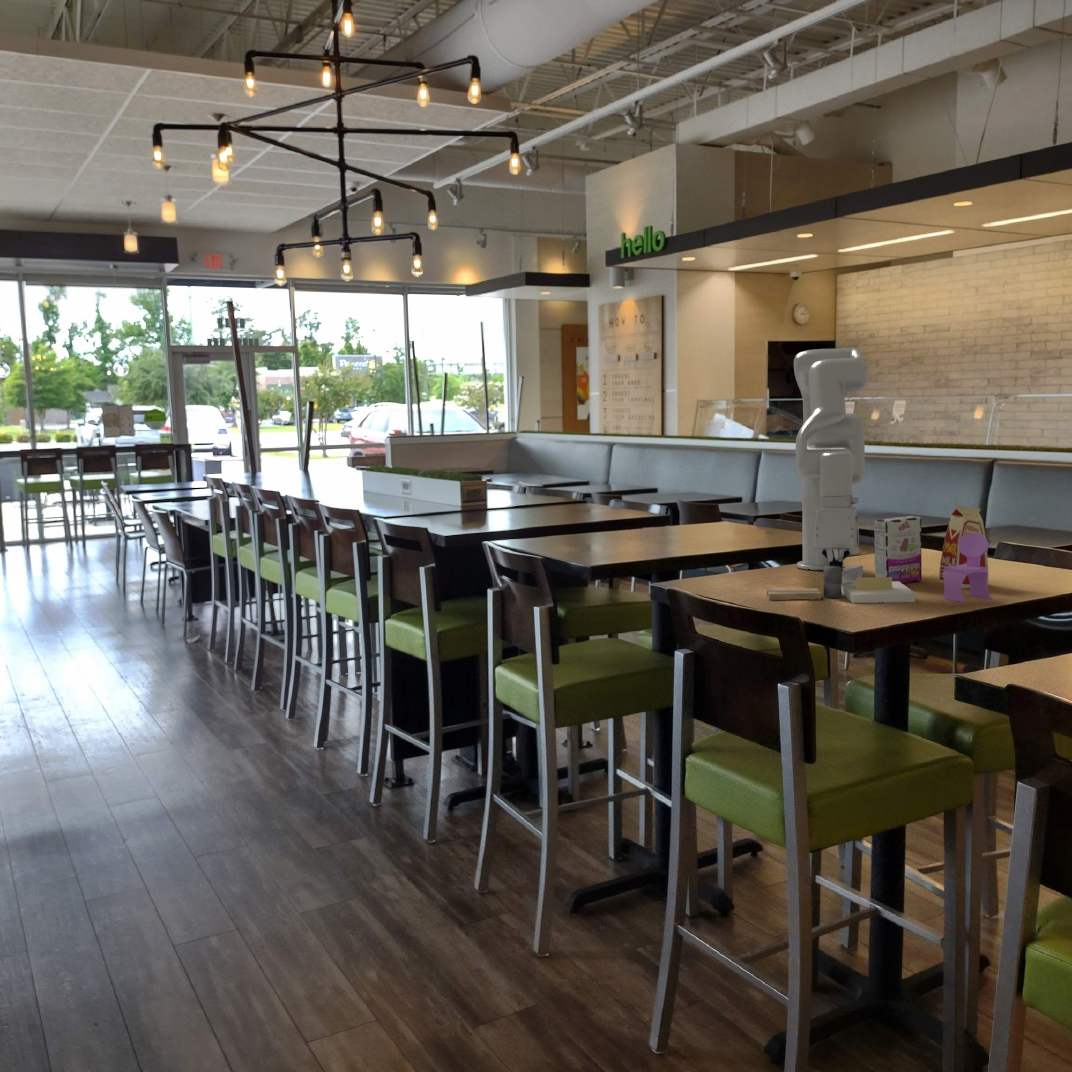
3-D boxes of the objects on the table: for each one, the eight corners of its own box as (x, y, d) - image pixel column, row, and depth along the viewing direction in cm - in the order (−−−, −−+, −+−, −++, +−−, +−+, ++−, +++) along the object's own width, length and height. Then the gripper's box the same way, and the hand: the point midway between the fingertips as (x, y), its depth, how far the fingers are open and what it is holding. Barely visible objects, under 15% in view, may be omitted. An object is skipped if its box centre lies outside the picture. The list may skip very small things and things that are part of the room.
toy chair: (938, 598, 233) (938, 533, 231) (966, 594, 237) (967, 530, 235) (966, 604, 226) (967, 537, 224) (995, 599, 229) (996, 534, 227)
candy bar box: (908, 578, 259) (908, 515, 257) (922, 581, 255) (922, 516, 253) (873, 583, 255) (873, 518, 253) (886, 586, 251) (887, 520, 249)
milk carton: (959, 588, 244) (960, 506, 242) (936, 582, 253) (937, 502, 251) (992, 585, 246) (994, 503, 243) (969, 579, 255) (970, 500, 252)
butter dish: (839, 590, 247) (839, 571, 247) (898, 589, 245) (898, 569, 245) (851, 602, 231) (851, 582, 231) (915, 602, 230) (915, 581, 229)
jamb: (766, 595, 244) (766, 566, 244) (838, 594, 242) (838, 565, 242) (769, 600, 239) (769, 570, 238) (843, 598, 236) (843, 569, 236)
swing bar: (841, 584, 240) (841, 572, 240) (832, 583, 242) (832, 571, 242) (862, 577, 249) (862, 565, 248) (853, 576, 250) (853, 564, 250)
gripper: (870, 501, 246) (870, 575, 248) (808, 500, 252) (808, 573, 255) (865, 504, 239) (865, 580, 241) (801, 503, 246) (802, 578, 248)
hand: (836, 576), depth 248 cm, fingers closed
